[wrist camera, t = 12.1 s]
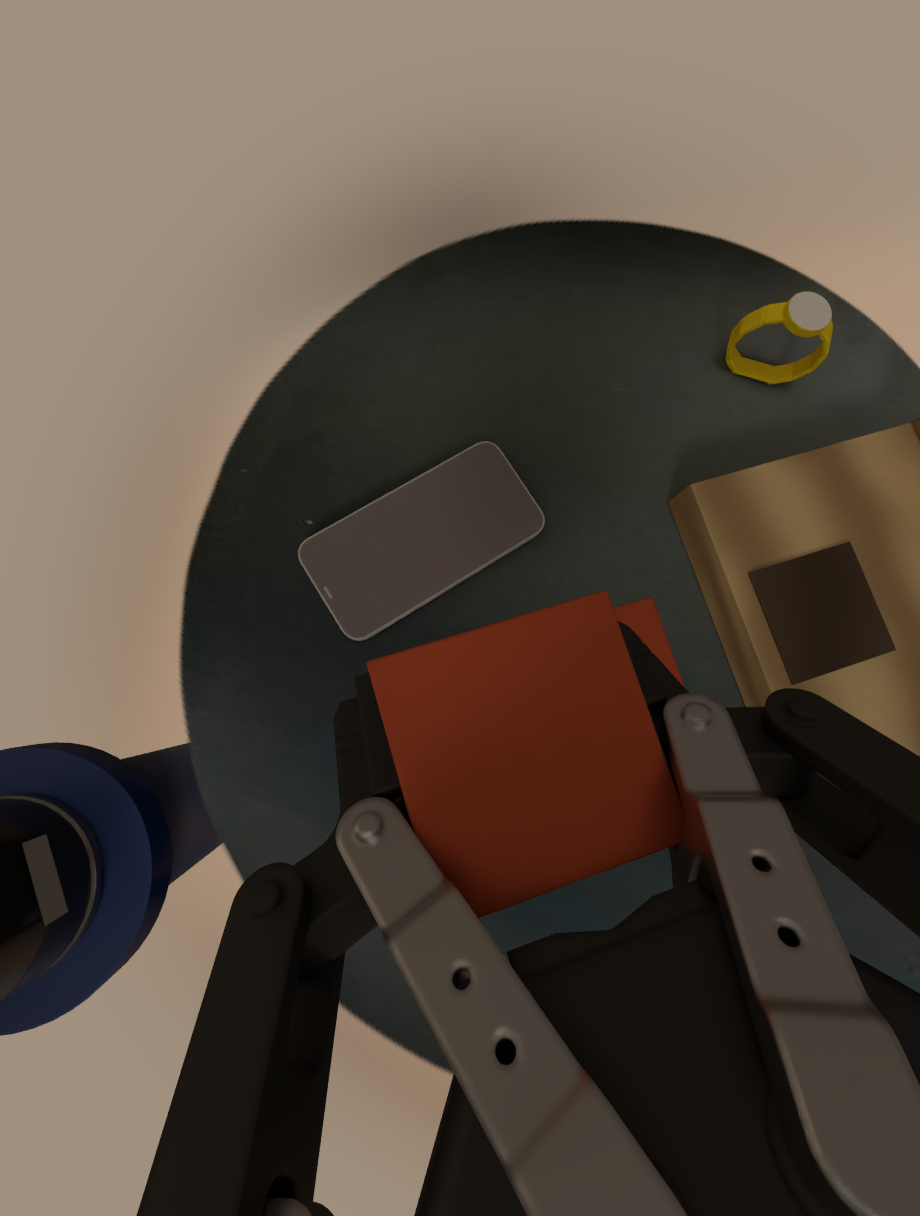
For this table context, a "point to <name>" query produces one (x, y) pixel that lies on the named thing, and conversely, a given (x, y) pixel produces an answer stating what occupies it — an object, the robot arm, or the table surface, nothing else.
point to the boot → (531, 749)
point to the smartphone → (420, 540)
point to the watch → (802, 319)
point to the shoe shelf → (818, 575)
